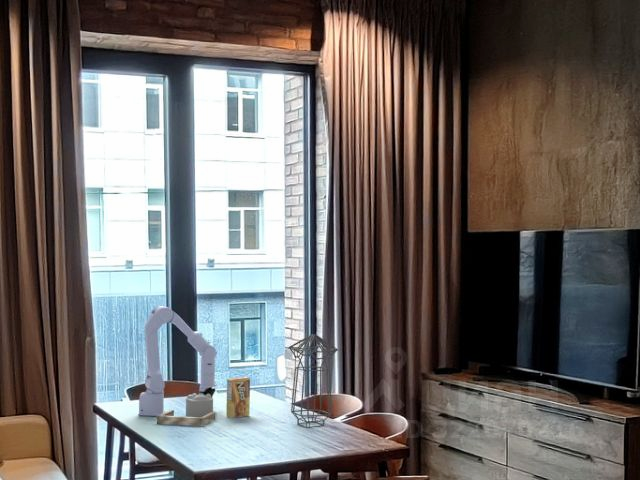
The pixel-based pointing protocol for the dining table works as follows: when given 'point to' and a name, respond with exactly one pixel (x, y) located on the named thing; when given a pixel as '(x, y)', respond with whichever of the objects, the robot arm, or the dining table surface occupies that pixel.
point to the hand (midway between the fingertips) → (207, 406)
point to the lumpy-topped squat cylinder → (198, 405)
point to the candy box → (238, 397)
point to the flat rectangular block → (184, 419)
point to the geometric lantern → (318, 342)
